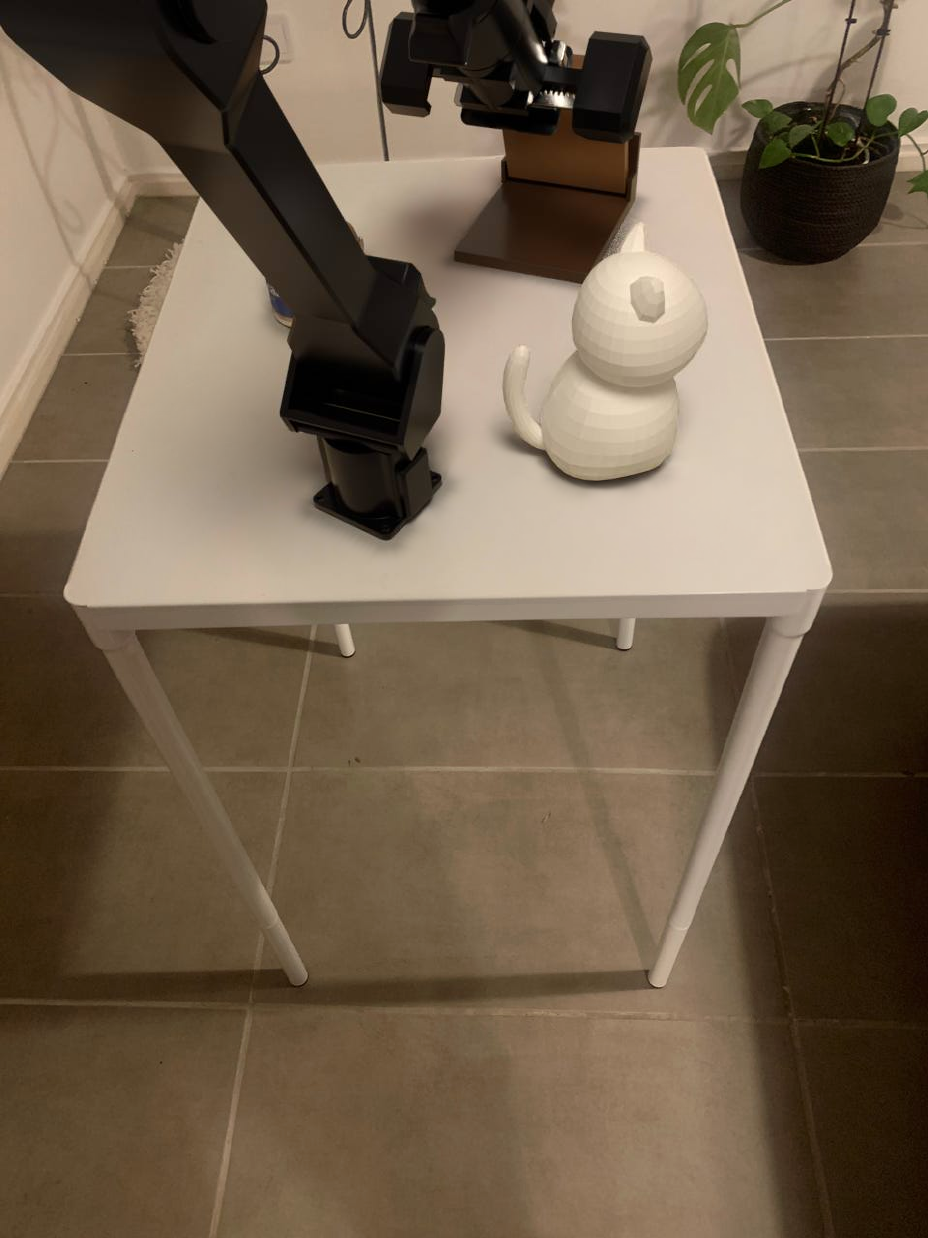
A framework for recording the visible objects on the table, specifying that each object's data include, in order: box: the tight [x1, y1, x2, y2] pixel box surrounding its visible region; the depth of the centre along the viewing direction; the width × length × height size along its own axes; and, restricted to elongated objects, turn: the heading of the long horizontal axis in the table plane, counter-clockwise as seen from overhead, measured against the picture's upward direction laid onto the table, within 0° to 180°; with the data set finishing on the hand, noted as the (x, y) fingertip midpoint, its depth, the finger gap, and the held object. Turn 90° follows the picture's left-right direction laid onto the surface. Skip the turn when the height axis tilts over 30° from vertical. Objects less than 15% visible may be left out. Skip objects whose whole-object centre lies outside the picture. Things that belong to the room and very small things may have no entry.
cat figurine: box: [501, 221, 709, 481], centre depth 59 cm, size 9×12×15 cm
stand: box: [453, 131, 642, 285], centre depth 80 cm, size 14×12×6 cm
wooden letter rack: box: [501, 53, 628, 194], centre depth 79 cm, size 11×11×3 cm
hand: (537, 125), depth 73 cm, fingers closed
